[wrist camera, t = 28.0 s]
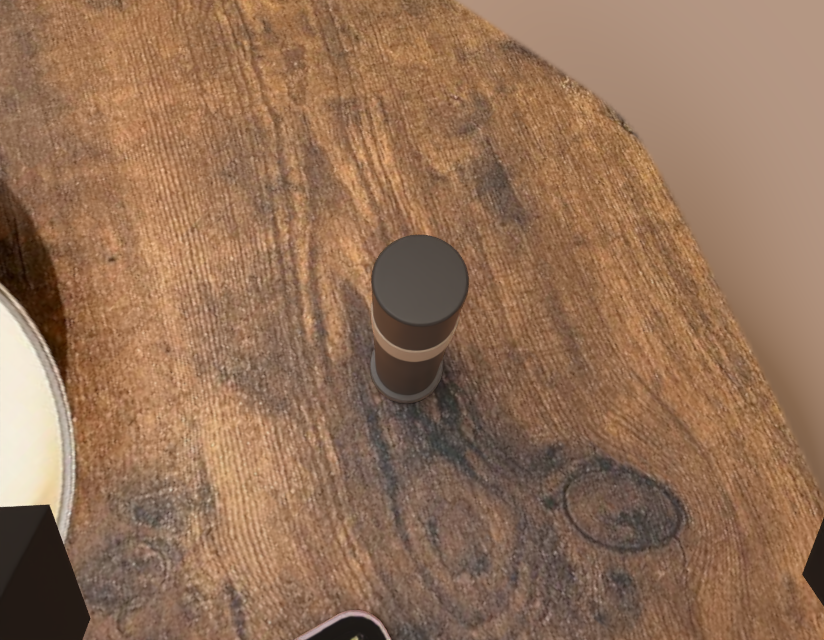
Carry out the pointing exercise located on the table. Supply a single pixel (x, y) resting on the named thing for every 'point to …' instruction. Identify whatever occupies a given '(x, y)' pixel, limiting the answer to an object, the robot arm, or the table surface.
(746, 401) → the table surface
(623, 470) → the table surface
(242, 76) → the table surface
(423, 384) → the pepper grinder
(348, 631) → the smartphone
